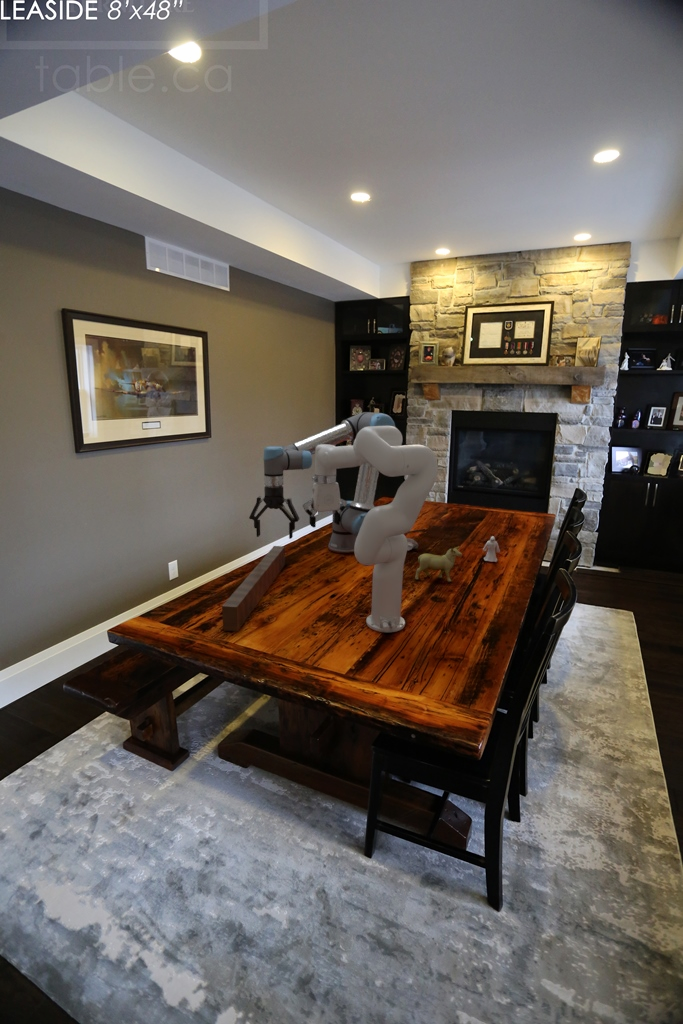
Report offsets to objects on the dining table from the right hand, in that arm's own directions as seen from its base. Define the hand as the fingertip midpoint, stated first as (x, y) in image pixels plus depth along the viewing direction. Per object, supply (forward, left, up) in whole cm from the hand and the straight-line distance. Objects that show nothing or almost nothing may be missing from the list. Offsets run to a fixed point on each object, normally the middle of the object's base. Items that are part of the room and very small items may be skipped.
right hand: (325, 525), depth 184 cm
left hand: (+20, +20, -11) cm, 30 cm away
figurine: (+30, -76, -25) cm, 86 cm away
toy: (+8, -46, -25) cm, 53 cm away
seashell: (+47, -43, -25) cm, 68 cm away
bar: (-3, +24, -25) cm, 35 cm away
